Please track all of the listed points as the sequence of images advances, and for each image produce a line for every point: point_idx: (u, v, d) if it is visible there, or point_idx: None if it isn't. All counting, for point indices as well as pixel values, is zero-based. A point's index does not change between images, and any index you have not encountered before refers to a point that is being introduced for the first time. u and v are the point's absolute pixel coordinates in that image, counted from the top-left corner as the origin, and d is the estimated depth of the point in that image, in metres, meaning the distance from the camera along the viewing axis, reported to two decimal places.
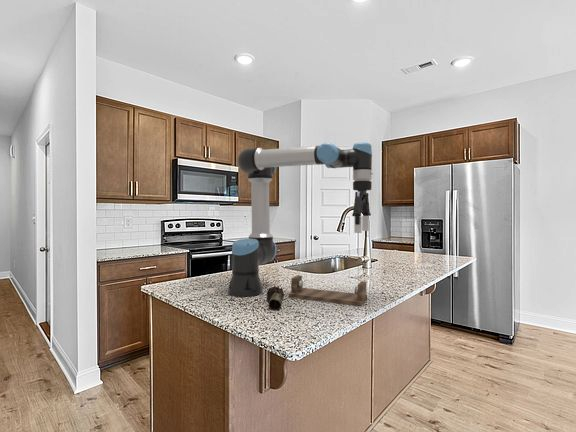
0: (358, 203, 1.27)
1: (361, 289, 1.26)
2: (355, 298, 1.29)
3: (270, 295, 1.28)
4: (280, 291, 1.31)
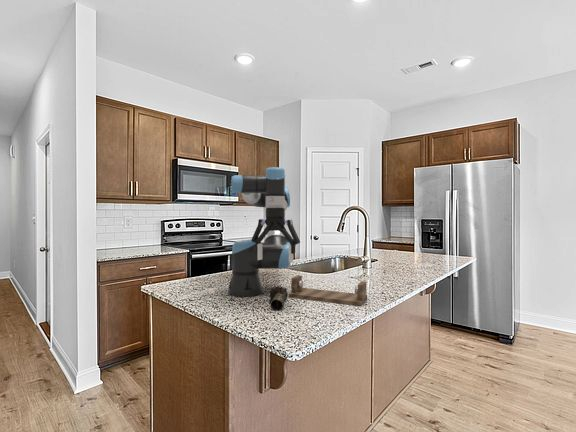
0: None
1: (361, 289, 1.26)
2: (355, 298, 1.29)
3: (273, 295, 1.28)
4: (283, 291, 1.30)
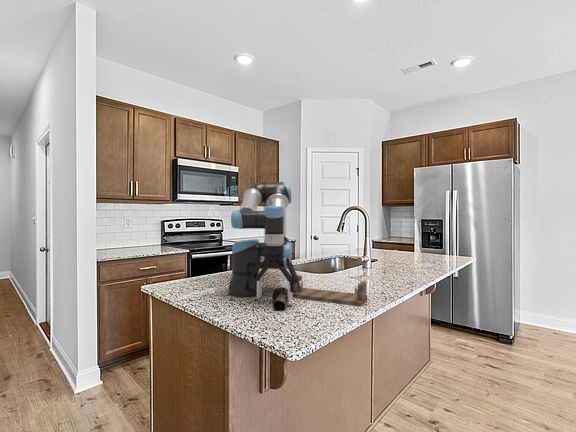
0: None
1: (361, 289, 1.26)
2: (355, 298, 1.29)
3: (276, 296, 1.28)
4: (286, 292, 1.30)
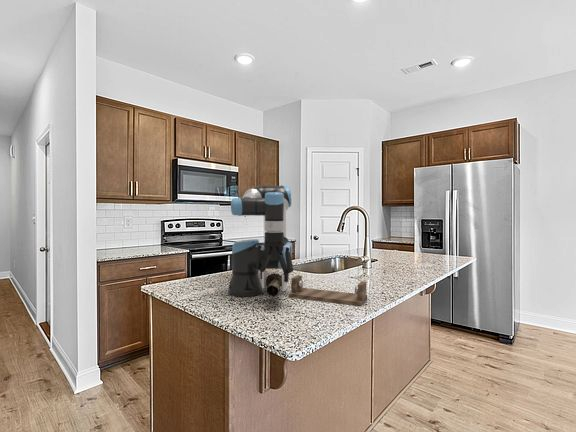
0: None
1: (361, 289, 1.26)
2: (355, 298, 1.29)
3: (269, 282, 1.28)
4: (280, 278, 1.30)
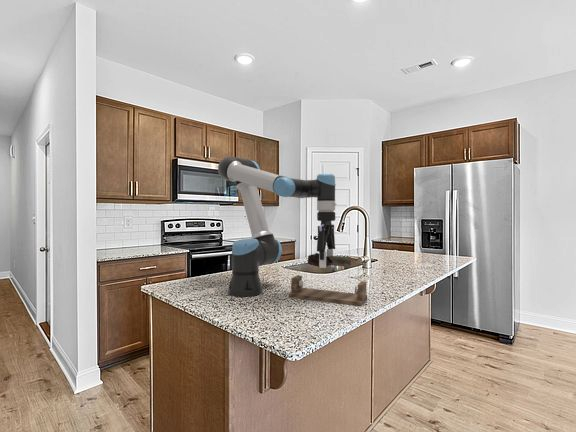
0: (321, 238, 1.28)
1: (361, 289, 1.26)
2: (355, 298, 1.29)
3: (327, 259, 1.33)
4: None
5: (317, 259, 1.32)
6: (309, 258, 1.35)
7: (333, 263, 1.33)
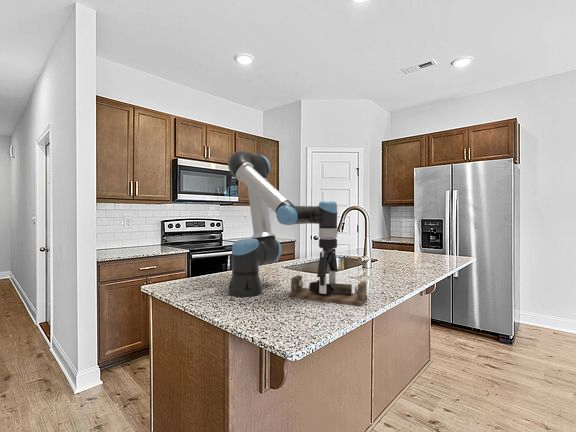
0: (322, 264, 1.28)
1: (361, 289, 1.26)
2: (355, 298, 1.29)
3: (329, 287, 1.34)
4: None
5: None
6: (311, 285, 1.36)
7: (334, 291, 1.34)
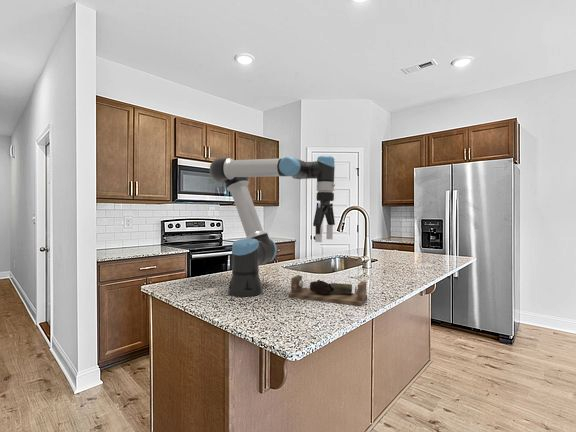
0: (318, 214, 1.34)
1: (361, 289, 1.26)
2: (355, 298, 1.29)
3: (329, 287, 1.34)
4: None
5: (319, 287, 1.34)
6: (311, 285, 1.37)
7: (335, 291, 1.35)
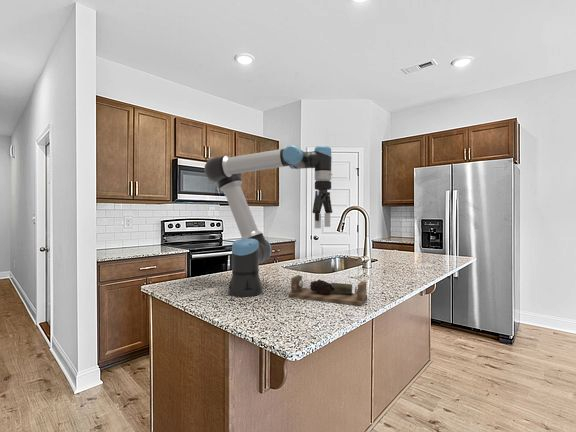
0: (317, 201, 1.39)
1: (361, 289, 1.26)
2: (355, 298, 1.29)
3: (329, 287, 1.35)
4: None
5: (319, 286, 1.34)
6: (311, 284, 1.37)
7: (335, 290, 1.35)
